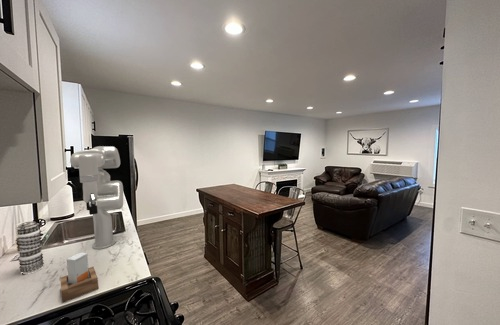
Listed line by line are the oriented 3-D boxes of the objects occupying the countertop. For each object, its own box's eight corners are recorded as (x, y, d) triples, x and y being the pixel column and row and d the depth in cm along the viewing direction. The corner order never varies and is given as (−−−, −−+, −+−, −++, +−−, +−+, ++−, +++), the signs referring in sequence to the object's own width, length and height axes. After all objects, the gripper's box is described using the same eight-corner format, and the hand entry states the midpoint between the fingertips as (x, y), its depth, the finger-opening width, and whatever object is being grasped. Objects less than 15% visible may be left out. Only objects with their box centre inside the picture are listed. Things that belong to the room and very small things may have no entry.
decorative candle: (49, 266, 110) (44, 221, 108) (25, 276, 102) (19, 227, 99) (39, 263, 113) (34, 218, 111) (15, 272, 105) (10, 225, 103)
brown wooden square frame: (61, 288, 93) (60, 277, 93) (94, 276, 101) (93, 266, 101) (62, 303, 84) (61, 291, 84) (98, 288, 93) (97, 277, 92)
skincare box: (76, 286, 90) (73, 260, 88) (68, 285, 90) (66, 259, 89) (89, 277, 95) (87, 253, 94) (82, 276, 96) (80, 252, 95)
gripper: (78, 177, 108) (80, 209, 109) (82, 181, 96) (85, 217, 97) (95, 176, 113) (98, 206, 115) (101, 179, 101) (104, 214, 102)
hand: (92, 211), depth 106 cm, fingers open, 9 cm apart
